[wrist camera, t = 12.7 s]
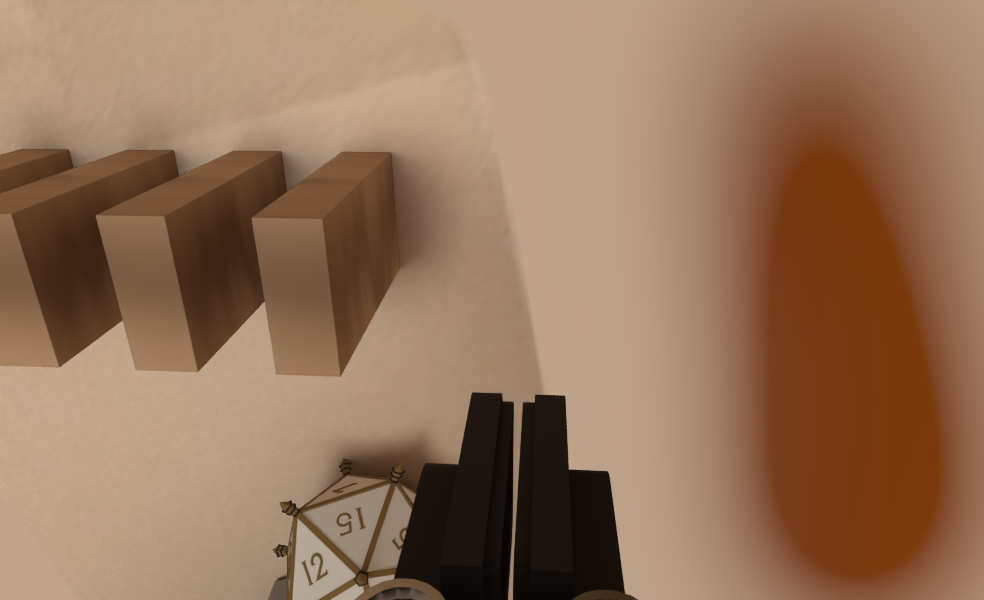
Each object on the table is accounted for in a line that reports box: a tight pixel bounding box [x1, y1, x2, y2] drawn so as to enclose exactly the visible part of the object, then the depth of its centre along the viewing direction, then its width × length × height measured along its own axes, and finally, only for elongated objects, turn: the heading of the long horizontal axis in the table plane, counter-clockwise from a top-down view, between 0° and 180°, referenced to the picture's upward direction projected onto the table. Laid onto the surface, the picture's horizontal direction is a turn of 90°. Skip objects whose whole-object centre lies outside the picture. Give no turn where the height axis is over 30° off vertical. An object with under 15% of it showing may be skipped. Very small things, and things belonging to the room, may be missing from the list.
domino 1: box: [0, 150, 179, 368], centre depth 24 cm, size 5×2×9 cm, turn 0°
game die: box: [273, 458, 416, 600], centre depth 30 cm, size 9×8×10 cm
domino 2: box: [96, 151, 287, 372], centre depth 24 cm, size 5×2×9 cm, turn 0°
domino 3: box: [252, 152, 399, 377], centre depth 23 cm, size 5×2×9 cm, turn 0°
